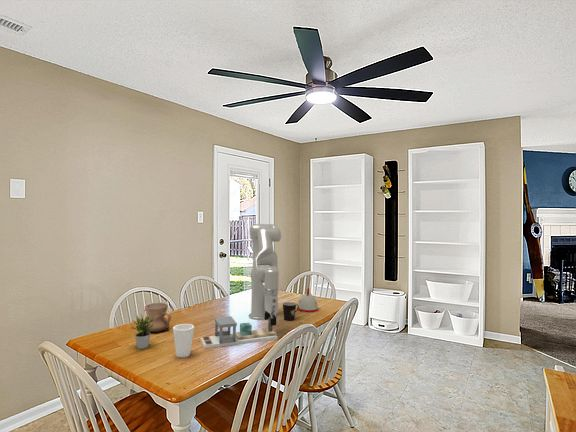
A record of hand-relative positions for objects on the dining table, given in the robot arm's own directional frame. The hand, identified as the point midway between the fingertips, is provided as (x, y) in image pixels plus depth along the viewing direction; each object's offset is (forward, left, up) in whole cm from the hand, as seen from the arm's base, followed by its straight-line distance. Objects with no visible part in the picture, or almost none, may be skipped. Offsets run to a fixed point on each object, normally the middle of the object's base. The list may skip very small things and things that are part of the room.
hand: (270, 322), depth 191 cm
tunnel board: (+17, +1, -7) cm, 19 cm away
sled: (+9, +1, -5) cm, 10 cm away
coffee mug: (-23, -23, -8) cm, 33 cm away
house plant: (+64, -4, -8) cm, 65 cm away
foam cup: (+47, +11, -8) cm, 49 cm away
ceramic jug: (+57, -29, -8) cm, 65 cm away
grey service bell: (-43, -40, -8) cm, 59 cm away
